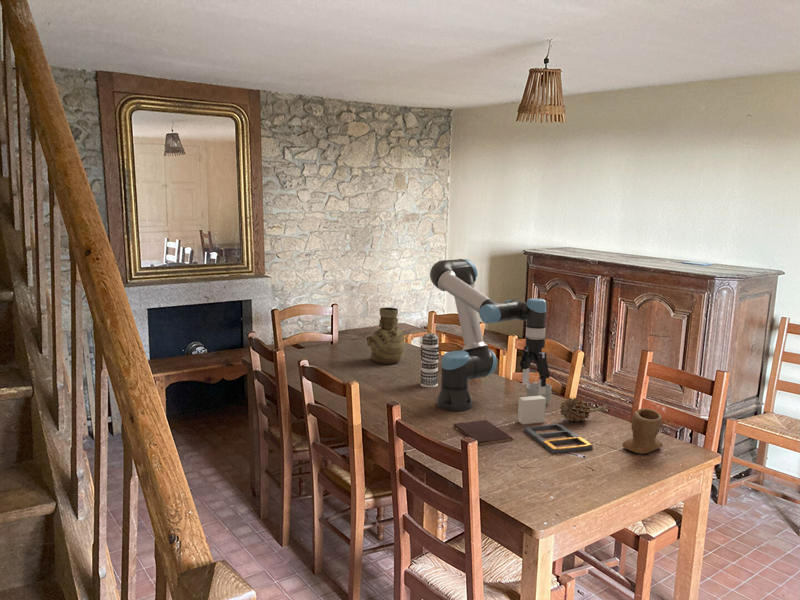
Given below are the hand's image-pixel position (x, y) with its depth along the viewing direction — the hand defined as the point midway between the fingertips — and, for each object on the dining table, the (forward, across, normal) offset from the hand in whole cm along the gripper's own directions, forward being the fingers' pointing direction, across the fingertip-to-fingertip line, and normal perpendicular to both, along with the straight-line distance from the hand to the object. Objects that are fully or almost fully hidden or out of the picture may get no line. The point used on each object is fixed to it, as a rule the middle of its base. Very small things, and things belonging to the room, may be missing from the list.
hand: (533, 389), depth 247 cm
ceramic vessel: (+12, +104, +34) cm, 110 cm away
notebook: (+14, -6, +25) cm, 29 cm away
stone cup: (+15, -36, -26) cm, 47 cm away
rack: (+14, -20, 0) cm, 24 cm away
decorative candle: (+13, +58, +25) cm, 64 cm away
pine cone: (+14, -4, -21) cm, 26 cm away
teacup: (+14, +22, -14) cm, 29 cm away
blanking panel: (+14, 0, 0) cm, 14 cm away
